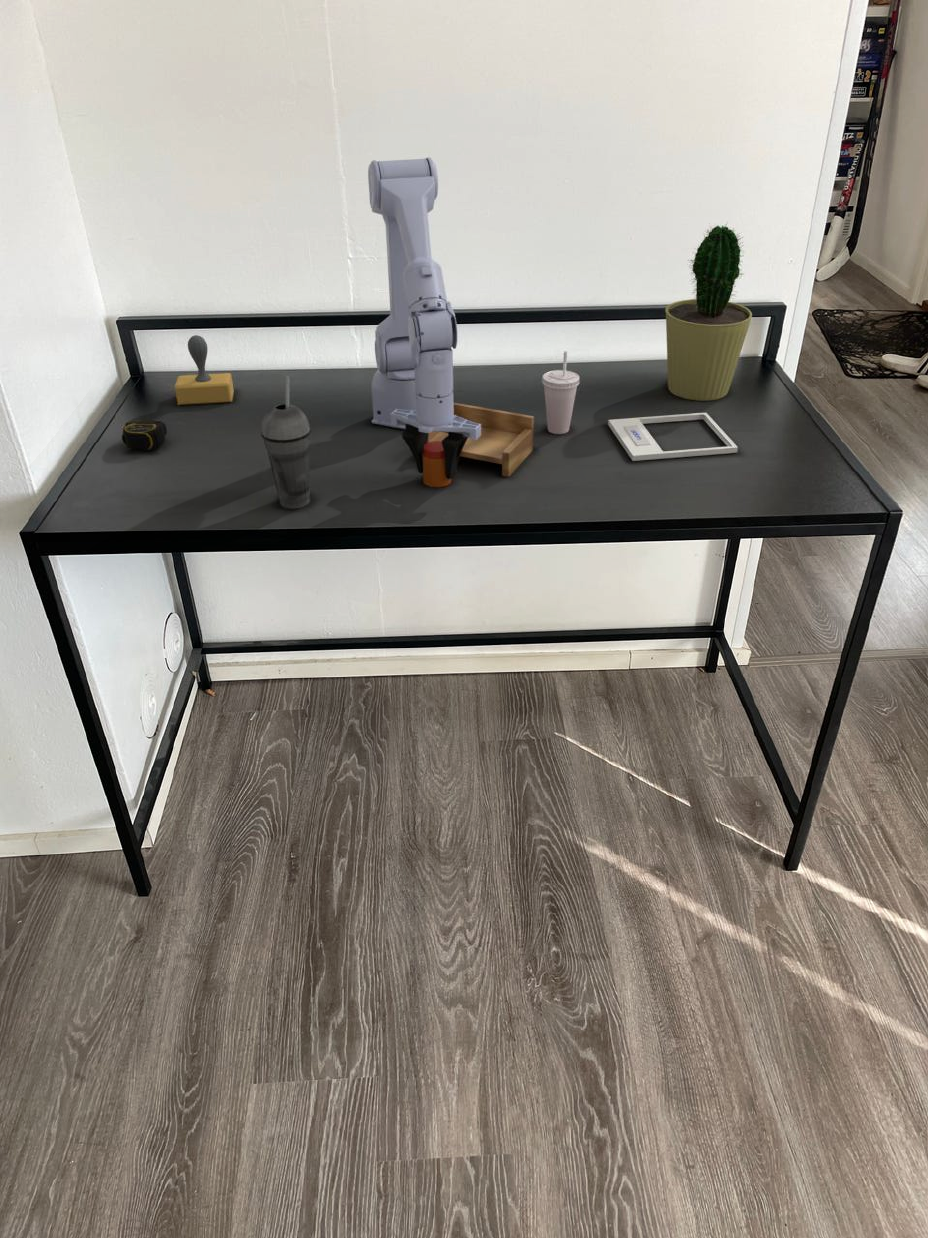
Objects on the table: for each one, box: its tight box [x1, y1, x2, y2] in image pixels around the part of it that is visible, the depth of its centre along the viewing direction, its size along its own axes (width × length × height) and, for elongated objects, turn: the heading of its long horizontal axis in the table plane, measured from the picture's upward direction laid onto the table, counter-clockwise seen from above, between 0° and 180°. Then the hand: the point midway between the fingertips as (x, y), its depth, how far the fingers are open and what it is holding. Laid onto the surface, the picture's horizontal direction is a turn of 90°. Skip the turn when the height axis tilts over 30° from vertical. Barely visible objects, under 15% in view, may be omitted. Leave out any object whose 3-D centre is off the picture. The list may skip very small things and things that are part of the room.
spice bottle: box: [422, 441, 452, 488], centre depth 149 cm, size 4×4×6 cm
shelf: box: [428, 402, 535, 478], centre depth 156 cm, size 16×11×6 cm, turn 65°
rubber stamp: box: [174, 334, 235, 406], centre depth 176 cm, size 10×6×12 cm, turn 97°
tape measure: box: [121, 420, 168, 451], centre depth 161 cm, size 7×7×4 cm
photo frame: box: [607, 412, 739, 462], centre depth 162 cm, size 15×1×18 cm
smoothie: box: [541, 350, 580, 435], centre depth 162 cm, size 6×6×14 cm
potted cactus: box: [664, 221, 753, 401], centre depth 172 cm, size 15×15×30 cm
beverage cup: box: [260, 375, 312, 510], centre depth 140 cm, size 7×7×20 cm
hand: (436, 473), depth 150 cm, fingers closed on spice bottle, 4 cm apart
